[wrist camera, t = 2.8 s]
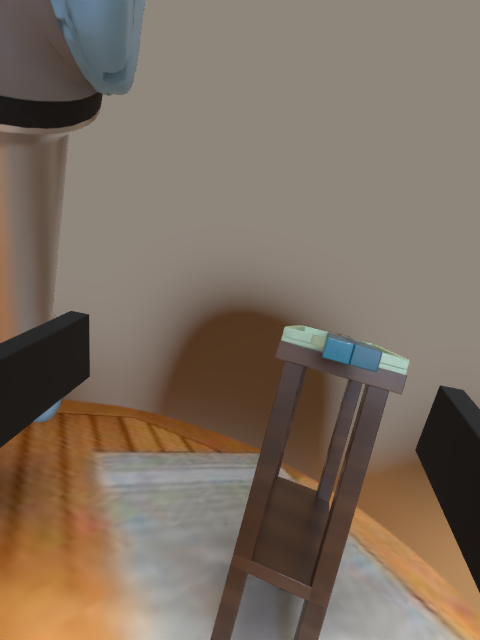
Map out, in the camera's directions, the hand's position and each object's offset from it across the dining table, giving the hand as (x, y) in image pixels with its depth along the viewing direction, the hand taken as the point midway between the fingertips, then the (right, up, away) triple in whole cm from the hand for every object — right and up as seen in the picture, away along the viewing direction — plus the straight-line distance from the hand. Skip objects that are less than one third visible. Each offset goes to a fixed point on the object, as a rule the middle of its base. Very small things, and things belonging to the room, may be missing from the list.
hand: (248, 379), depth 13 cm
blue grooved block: (+9, 0, +18) cm, 20 cm away
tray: (+10, -1, +23) cm, 25 cm away
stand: (+3, -29, +25) cm, 38 cm away
